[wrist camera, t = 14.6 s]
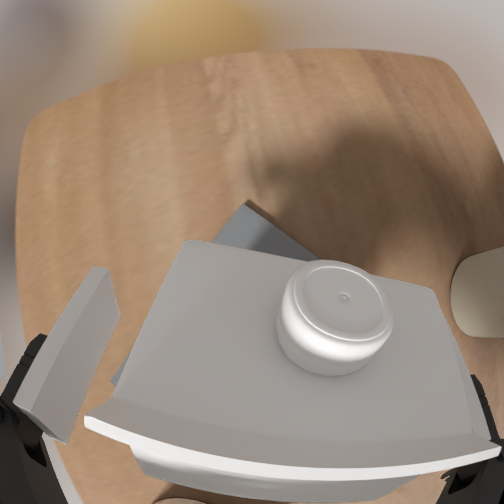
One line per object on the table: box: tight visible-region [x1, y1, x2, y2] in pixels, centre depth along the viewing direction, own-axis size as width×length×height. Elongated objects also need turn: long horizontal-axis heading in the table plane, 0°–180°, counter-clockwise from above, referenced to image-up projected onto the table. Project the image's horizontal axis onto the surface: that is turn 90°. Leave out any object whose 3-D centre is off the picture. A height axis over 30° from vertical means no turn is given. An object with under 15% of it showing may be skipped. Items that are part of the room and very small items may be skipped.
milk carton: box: [84, 240, 502, 503], centre depth 12 cm, size 7×7×19 cm
